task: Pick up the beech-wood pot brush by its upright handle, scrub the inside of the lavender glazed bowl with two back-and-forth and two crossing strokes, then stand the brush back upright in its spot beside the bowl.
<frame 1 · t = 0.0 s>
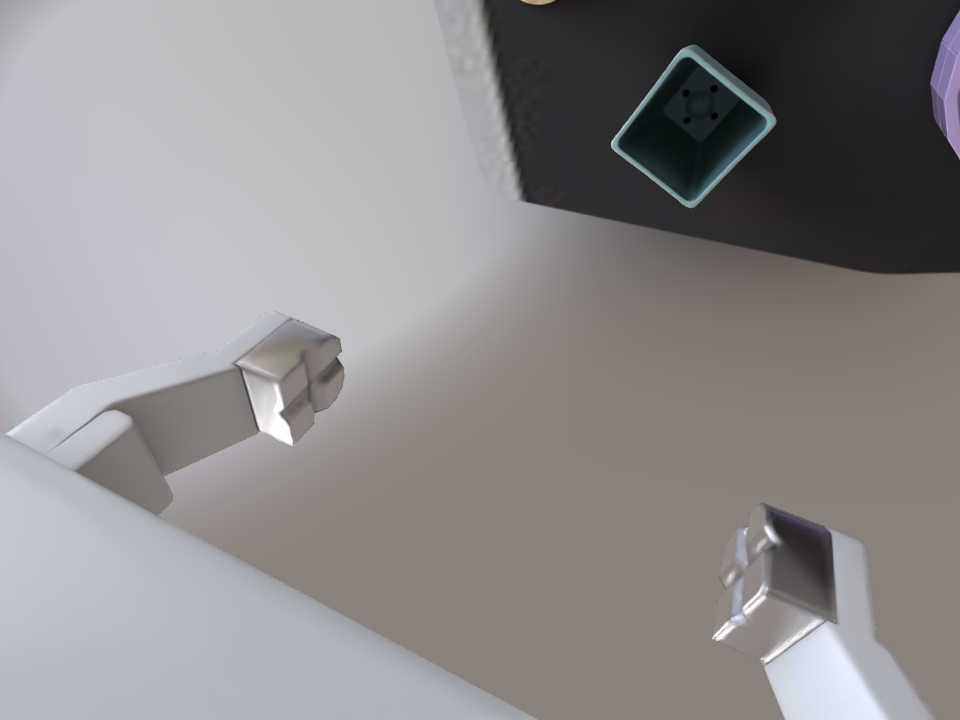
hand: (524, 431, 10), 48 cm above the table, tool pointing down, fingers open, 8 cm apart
flower pot: (702, 103, 48), on the table
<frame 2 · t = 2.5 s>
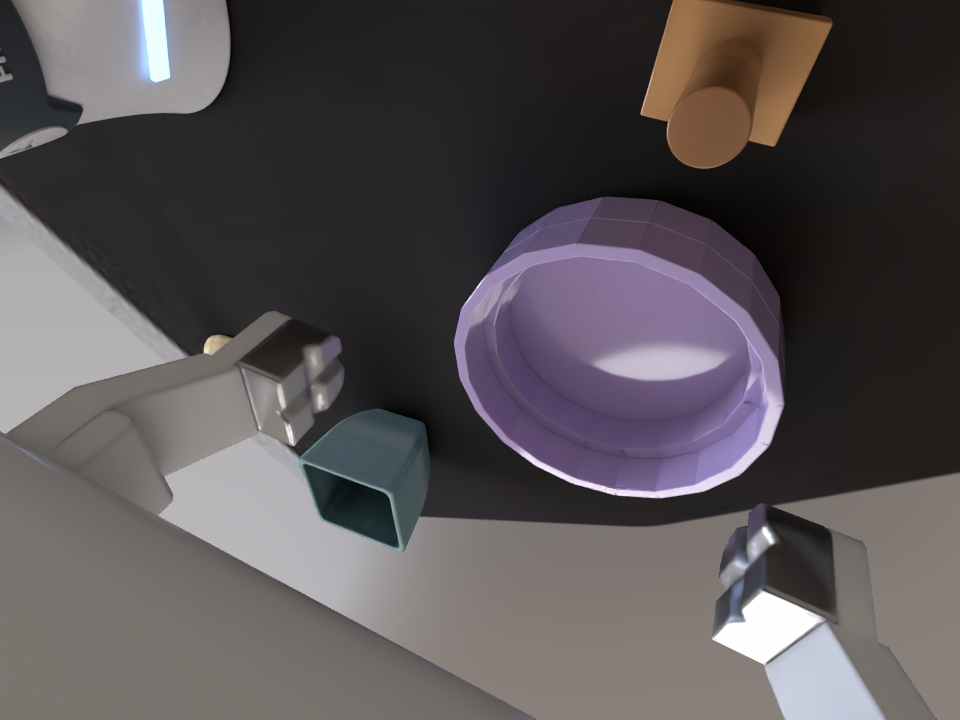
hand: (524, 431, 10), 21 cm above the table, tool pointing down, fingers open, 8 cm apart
bowl: (622, 328, 33), on the table
brush: (731, 58, 23), on the table
hand bell: (241, 366, 55), on the table
flower pot: (406, 430, 50), on the table
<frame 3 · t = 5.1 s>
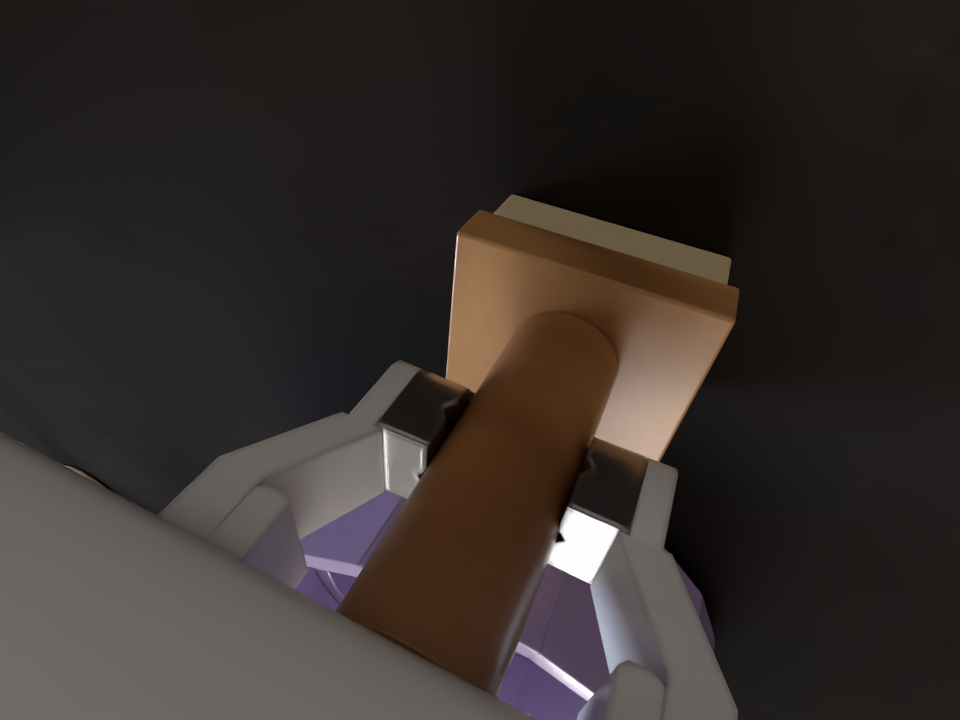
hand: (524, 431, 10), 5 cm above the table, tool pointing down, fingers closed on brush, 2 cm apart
bowl: (503, 566, 24), on the table
brush: (595, 294, 14), on the table, touching gripper
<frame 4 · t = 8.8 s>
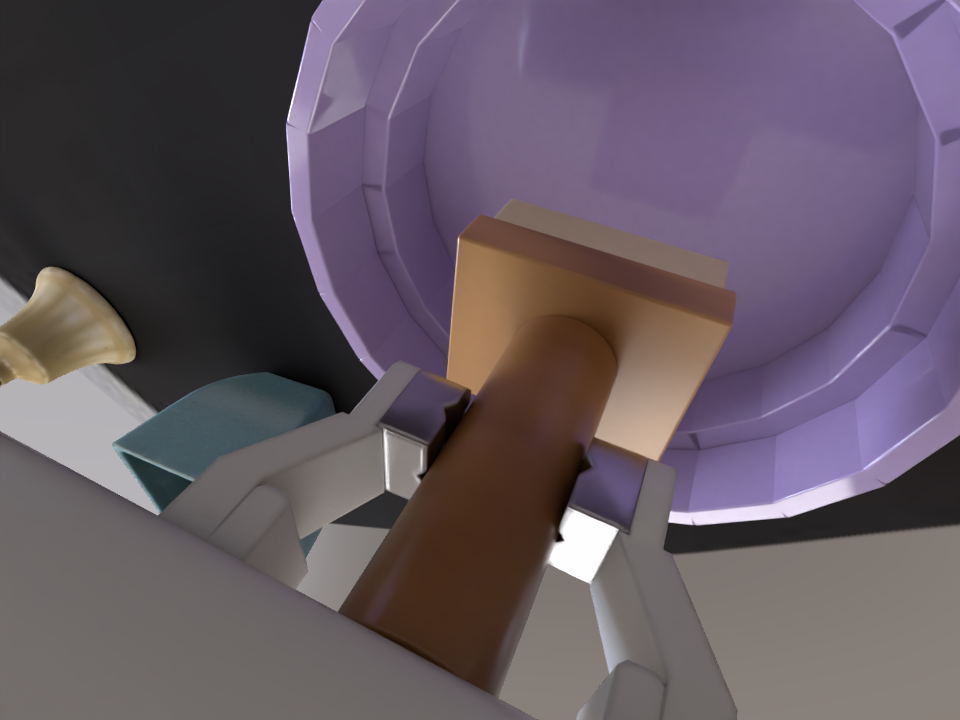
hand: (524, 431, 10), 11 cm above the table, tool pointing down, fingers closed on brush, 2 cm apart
bowl: (630, 201, 18), on the table
brush: (594, 297, 14), point 6 cm above the table, touching gripper
hand bell: (93, 314, 40), on the table
flower pot: (310, 405, 35), on the table
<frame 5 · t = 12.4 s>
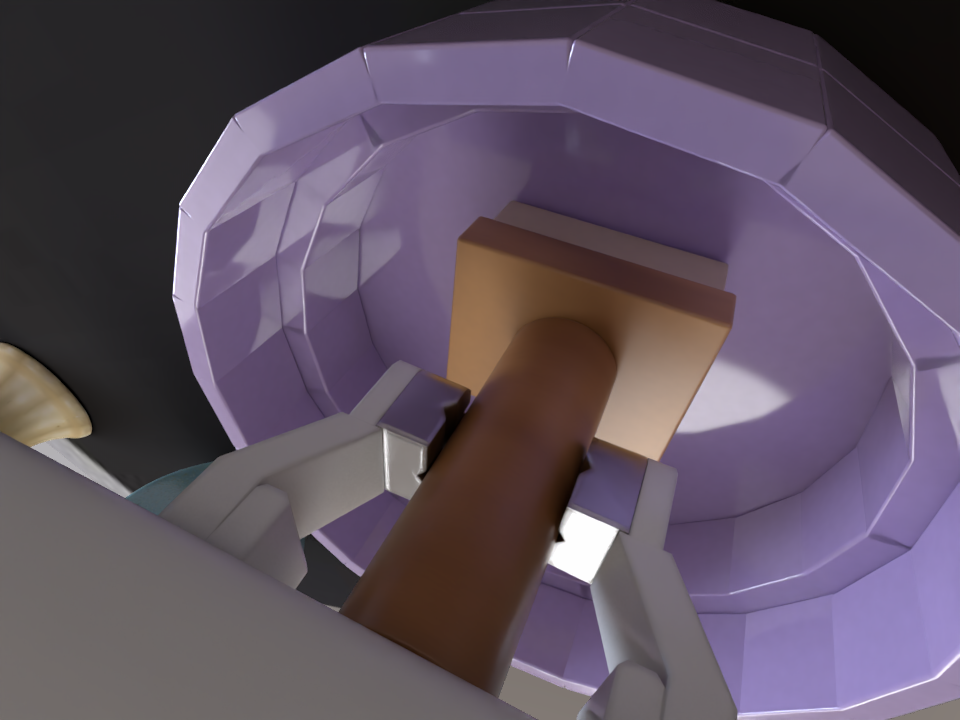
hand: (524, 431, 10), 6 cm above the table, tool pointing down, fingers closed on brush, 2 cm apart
bowl: (581, 343, 16), on the table
brush: (594, 298, 14), point 1 cm above the table, touching gripper
hand bell: (47, 388, 38), on the table
flower pot: (269, 492, 33), on the table
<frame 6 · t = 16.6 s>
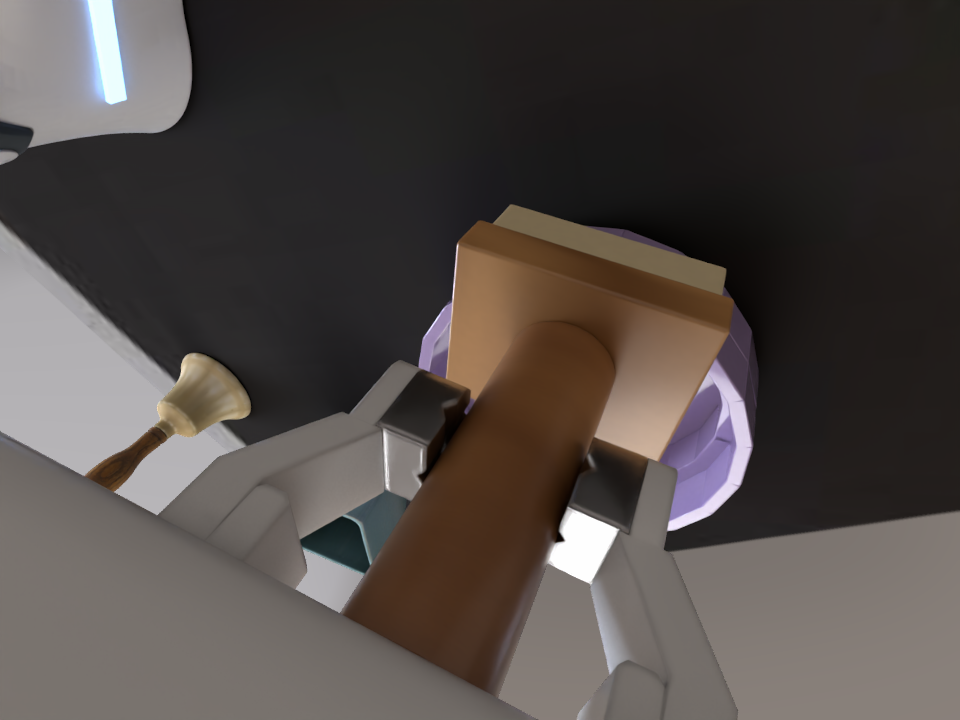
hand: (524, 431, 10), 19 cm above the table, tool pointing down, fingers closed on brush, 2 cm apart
bowl: (594, 357, 32), on the table
brush: (593, 302, 14), point 14 cm above the table, touching gripper
hand bell: (219, 384, 54), on the table
flower pot: (383, 452, 49), on the table
when the fingers open (5 cm above the table, at t = 19.9 s): brush stays where it is, on the table.
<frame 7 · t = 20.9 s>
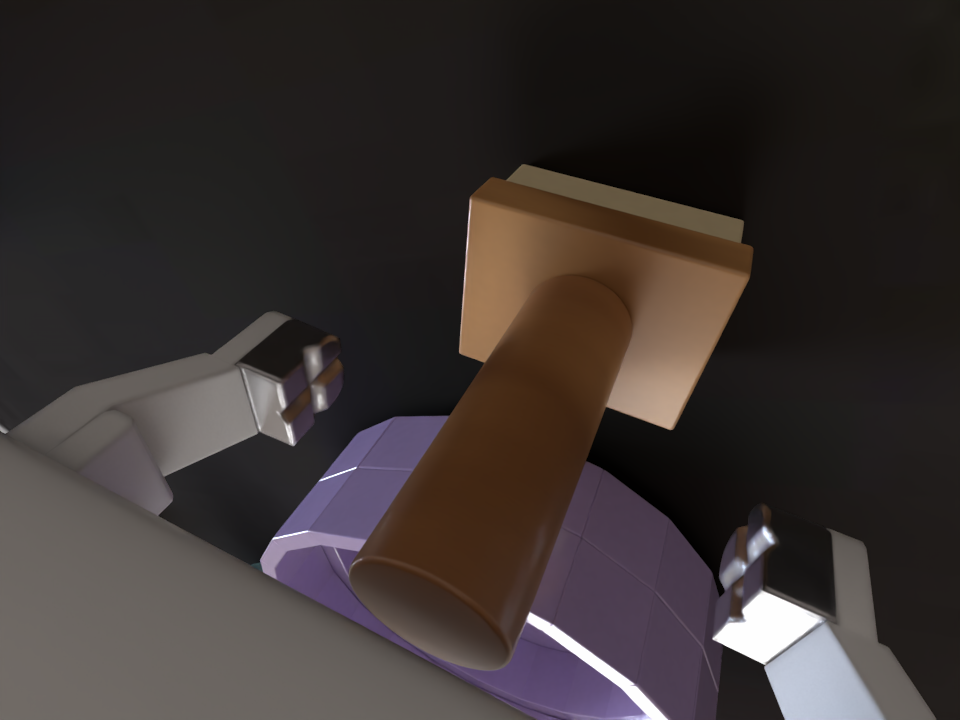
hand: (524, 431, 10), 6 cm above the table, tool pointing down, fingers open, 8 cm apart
bowl: (513, 550, 24), on the table
brush: (607, 263, 14), on the table
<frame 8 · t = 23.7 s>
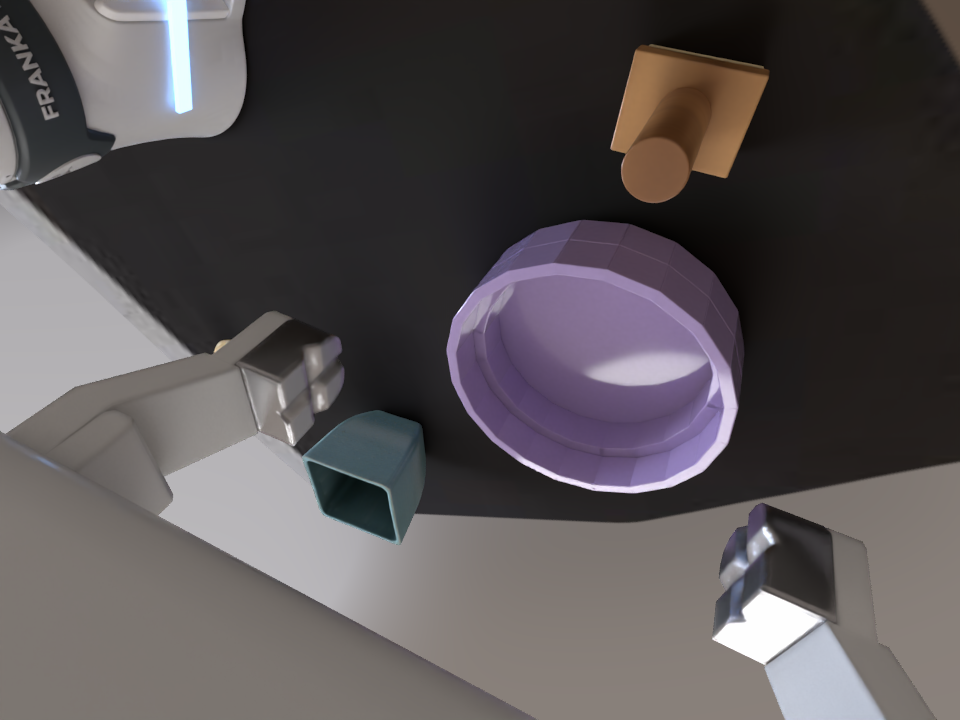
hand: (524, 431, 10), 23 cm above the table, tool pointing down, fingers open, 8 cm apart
bowl: (601, 337, 37), on the table
brush: (690, 100, 26), on the table
flower pot: (404, 431, 53), on the table
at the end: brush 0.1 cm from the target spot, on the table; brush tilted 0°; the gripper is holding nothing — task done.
